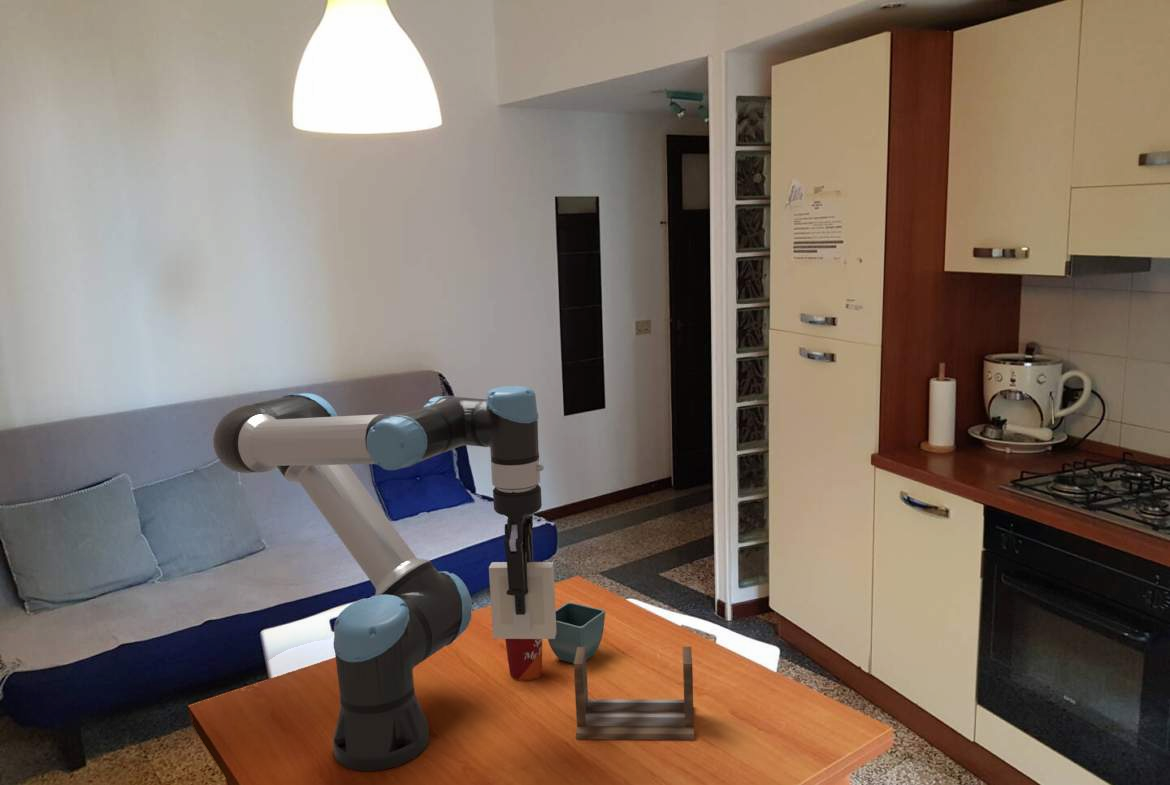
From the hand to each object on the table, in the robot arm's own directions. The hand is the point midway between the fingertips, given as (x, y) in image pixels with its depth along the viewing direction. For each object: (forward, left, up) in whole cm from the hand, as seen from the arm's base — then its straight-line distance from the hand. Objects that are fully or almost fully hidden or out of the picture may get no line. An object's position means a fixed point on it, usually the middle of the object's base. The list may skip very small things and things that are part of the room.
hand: (524, 626), depth 144 cm
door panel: (0, 0, -2) cm, 2 cm away
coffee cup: (-4, +20, -19) cm, 28 cm away
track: (+17, +3, -19) cm, 25 cm away
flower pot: (+5, +26, -19) cm, 32 cm away
